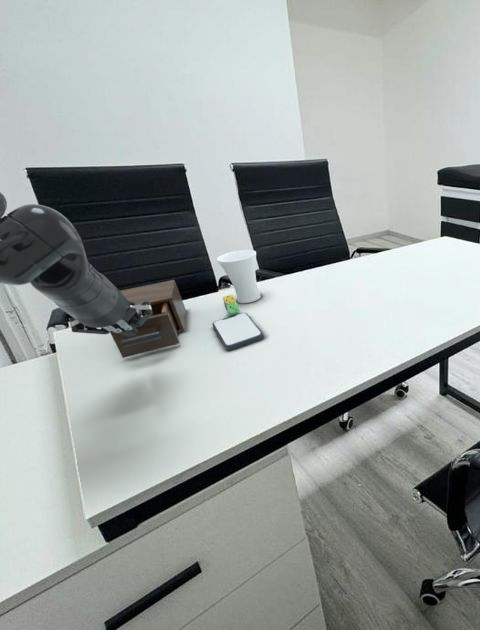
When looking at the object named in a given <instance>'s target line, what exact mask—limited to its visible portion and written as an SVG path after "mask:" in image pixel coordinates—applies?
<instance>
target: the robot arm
mask: <svg viewBox="0 0 480 630" xmlns="http://www.w3.org/2000/svg"><path fill="white" fill-rule="evenodd" d="M7 206H8V202H7V198H6V197H5V195H4V194H3V193H2V192H1V191H0V284H2V285H8V286H24V285H28V284H30V285H31V286H32V287H33V288H34V289H35V290H36V291H38V292H39V293H40V294H42V295H43V296H44V297H46V298H48V299H49V300H51V301H52V302H53V303H54V304H55V305H56V306H57V307H58V308H59V309H60V310H62V311H63V312H64V313H66V314H68V315H69V316H70V318H69V323H70V328H71V333H80V334H90V335H91V334H94V335H109V334H111V333H110V331H113V332H115V333H119V334H121V335H122V336H127V337H131V336H135V335H136V333H138V328H137V327H139V326H142V325H143V324H144V322H145V321H146V320H147V319H148V318H149V317H150V316H151V315H152V314H153V313H152V308H151V304H150V302H148V301H147V302H143V303H142V304H141V305H135V303H134V302H132V301H128V300H127V299H126V297H125V296H124V295H123V294H122V293H121V292H120V291H121V290H119V289H118V287H117V286H115V284H114V283H112V282H111V281H110V280H109V279H108V278H107V277H106V276H105V275H104V274H103V273H101V272H99V271H98V270H97V269H96V268H95V267H94V266H93V265H92V264H91V263H90V262H89V260H88V257H87V254H86V249H85V245H84V243H83V241H82V238H81V236H80V234H79V231H78V230H77V229H76V227H75V226H74V224H72V222H71V221H70V220H69V219H68V218H67V217H66V216H64V215H63V214H62V213H61V212H59V211H57V210H56V209H54V208H52V207H50V206H46V205H43V204H37V203H27V204H24V205H21V206H19V207H17V208H15V209H13V210H11V211H10V212H8V213H7V214H6V215H5V213H6V210H7Z"/></svg>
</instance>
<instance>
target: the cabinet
mask: <svg viewBox="0 0 480 630" xmlns="http://www.w3.org/2000/svg"><path fill="white" fill-rule="evenodd" d="M119 291H120V292H121V293H122V294H123V295H124V296H125V297H126V299H127V300H128V301H132V302H134V303H135V305H141V304H142V303H143V302H147V301H148V302H150V304H151V305H154V304H159V303H163V302H168V301H169V303H170V305H171V308H172V310H173V313H174V315H175V318H176V320H177V323H178V328H177V334H181V333H185V332H186V320H187V309H186V307H185V304H184V302H183V299H182V296H181V293H180V291H179V288H178V285H177V283H176V280H175V279H170V280H167V281H161V282H157V283H152V284H146V285H142V286H136V287H132V288H127V289H121V290H119Z"/></svg>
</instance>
